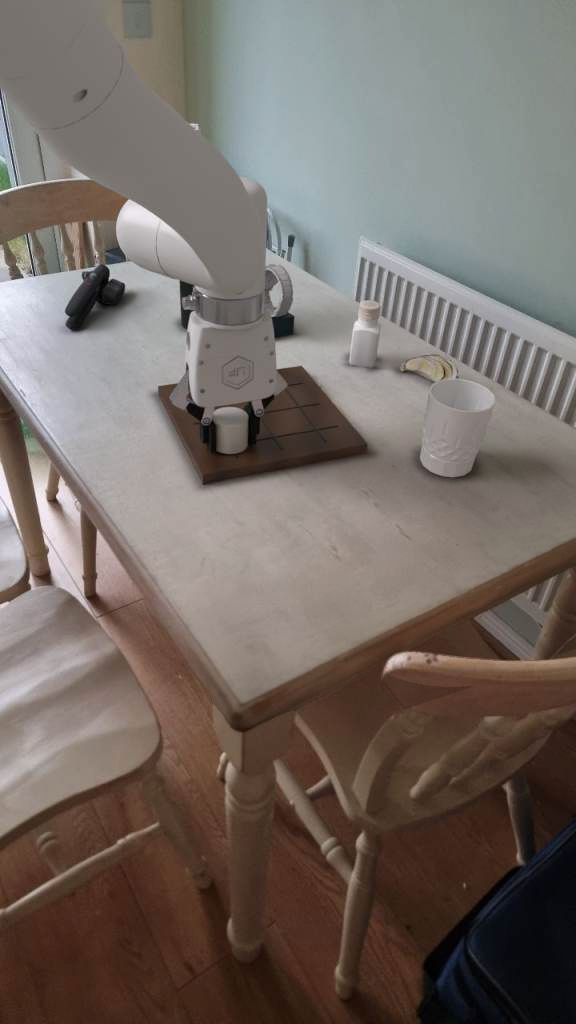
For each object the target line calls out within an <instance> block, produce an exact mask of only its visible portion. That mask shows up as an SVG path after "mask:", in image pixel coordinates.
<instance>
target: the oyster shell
mask: <svg viewBox="0 0 576 1024" xmlns="http://www.w3.org/2000/svg"><path fill="white" fill-rule="evenodd" d="M399 371H401V372H403V373H404V372H411V373H415V374H417V375H419V376H421V377H423V378H425V379H427V380H428V381H430V382H432V383H433V384H434V383H435V382H437V381H440V380H444V379H459V375H458V373H459V369H458V367H457V365H456V362H455V361H453V360H451V359H449V358H447V357H446V356H443V355H440V354H435V353H434V354H422V355H420V356H416V357H412V358H410V359H407V360H404V361H403V362H402V363H401V365H400V367H399Z"/></svg>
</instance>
